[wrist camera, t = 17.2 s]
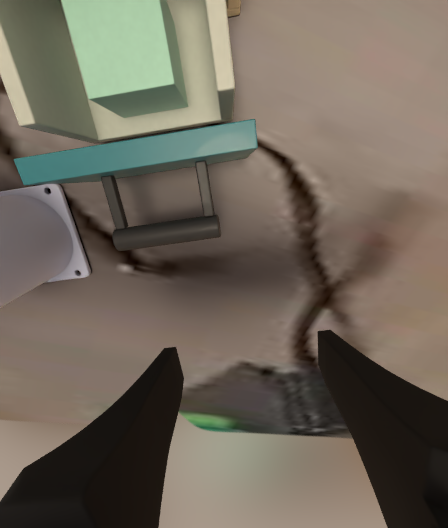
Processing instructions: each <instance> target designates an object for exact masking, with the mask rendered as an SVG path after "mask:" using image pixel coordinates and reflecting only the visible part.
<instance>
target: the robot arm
mask: <svg viewBox="0 0 448 528" xmlns="http://www.w3.org/2000/svg"><path fill="white" fill-rule="evenodd" d="M48 188H49V189H50V190H51V193H49V192H48ZM77 270H79V271H80V272H81V274H79V273H78V272H77ZM90 274H91V269H90V267H89V264H88V261H87V258H86V255H85V252H84V249H83V246H82V244H81V241H80V238H79V235H78V232H77V229H76V226H75V224H74V221H73V218H72V215H71V212H70V209H69V206H68V203H67V201H66V198H65V195H64V192H63V189H62V187H61V186H60V185H59V184H45V185H38V186H32V187H26V188H19V189H13V190H7V191H0V308H2V307H3V306H5V305H7V304H8V303H10V302H12V301H14V300H15V299H17V298H19V297H20V296H22V295H24V294H25V293H27V292H29V291H31V290H32V289H34V288H36V287H37V286H39V285H41V284H42V283H46V282H53V281H61V280H68V279H76V278H84V277H87V276H89V275H90ZM318 365H319V367H320V370H321V373H322V376H323V378H324V381H325V384H326V386H327V388H328V390H329V392H330V394H331V396H332V398H333V400H334V402H335V403H336V405H337V407H338V409H339V411H340V413H341V415H342V417H343V419H344V421H345V423H346V425H347V427H348V429H349V431H350V433H351V435H352V437H353V439H354V442H355V444H356V447H357V449H358V452H359V454H360V456H361V459H362V461H363V464H364V466H365V469H366V471H367V474H368V477H369V479H370V482H371V484H372V487H373V489H374V492H375V495H376V497H377V500H378V503H379V505H380V508H381V511H382V513H383V516H384V519H385V522H386V524H387V527H388V528H448V401H447V400H444V399H442V398H440V397H437V396H435V395H433V394H431V393H429V392H427V391H425V390H423V389H421V388H419V387H417V386H415V385H413V384H411V383H409V382H407V381H405V380H404V379H402V378H400V377H398V376H396V375H395V374H393V373H391V372H389V371H388V370H386V369H384V368H383V367H381V366H380V365H378V364H377V363H375V362H374V361H372V360H371V359H369V358H368V357H366V356H365V355H363V354H362V353H360V352H359V351H358V350H356V349H355V348H353V347H352V346H351V345H349V344H348V343H347V342H345V341H344V340H343V339H342V338H340V337H339V336H338V335H336V334H335V333H334V332H332V331H331V330H325V331H318ZM183 381H184V377H183V373H182V369H181V365H180V361H179V357H178V353H177V349H176V347H171V348H164V349H163V351H162V352H161V353H160V354H159V355H158V356H157V358H156V359H155V360H154V361H153V362H152V364H151V365H150V366H149V367H148V368H147V370H146V371H145V372H144V373H143V374H142V375H141V376H140V378H139V379H138V380H137V381H136V382H135V383H134V384H133V385H132V386H131V387H130V388H129V389H128V390H127V391H126V392H125V394H123V395H122V396H121V397H120V398H119V399H118V400H117V401H116V402H115V403H114V404H113V405H112V406H111V407H110V408H108V409H107V410H106V411H105V412H104V413H103V414H101V415H100V416H99V417H98V418H97V419H95V420H94V421H93V422H92V423H90V424H89V425H88V426H87V427H85V428H84V429H83V430H81V431H80V432H79V433H77V434H76V435H75V436H73V437H72V438H70V439H69V440H67V441H66V442H65V443H63V444H62V445H60V446H59V447H57V448H56V449H54V450H53V451H51V452H49V453H48V454H46V455H45V456H43V457H41V458H40V459H38V460H37V461H35V462H33V463H32V464H30V465H28V466H27V467H25V468H24V469H23V470H22V472H21V473H20V474H19V476H18V477H17V478H16V480H15V481H14V483H13V484H12V486H11V487H10V489H9V490H8V491H7V493H6V494H5V496H4V497H3V498H2V500H1V501H0V528H158V526H159V517H160V509H161V501H162V494H163V486H164V478H165V472H166V466H167V459H168V453H169V448H170V444H171V439H172V436H173V431H174V427H175V423H176V419H177V415H178V411H179V407H180V402H181V398H182V390H183Z"/></svg>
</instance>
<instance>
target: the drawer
mask: <svg viewBox="0 0 448 528" xmlns="http://www.w3.org/2000/svg"><path fill="white" fill-rule="evenodd" d="M166 1H167V4H168V7H169V9H170V12H171V15H172V18H173V21H174V24H175V30H176V36H177V42H178V48H179V54H180V60H181V66H182V72H183V78H184V84H185V90H186V96H187V102H188V107H184V108H179V109H173V110H167V111H161V112H155V113H150V114H144V115H138V116H132V117H127V118H123V117H121V116H119V115H117V114H115V113H113V112H112V111H110V110H108V109H106V108H104V107H102V106H101V105H99V104H97V103H95V102H93V101H91V100H89V98H88V95H87V91H86V88H85V84H84V81H83V77H82V74H81V70H80V66H79V63H78V59H77V56H76V52H75V49H74V45H73V42H72V38H71V34H70V31H69V27H68V24H67V20H66V17H65V13H64V10H63V6H62V2H61V0H0V75H1V78H2V80H3V83H4V86H5V88H6V91H7V94H8V96H9V99H10V102H11V105H12V107H13V110H14V113H15V115H16V118H17V121H18V123H19V125H20V126H22V127H27V128H31V129H35V130H39V131H44V132H48V133H52V134H57V135H61V136H65V137H69V138H74V139H78V140H82V141H87V142H90V143H100V142H106V141H112V140H118V139H124V138H130V137H136V136H142V135H148V134H154V133H160V132H166V131H172V130H178V129H184V128H190V127H196V126H202V125H208V124H214V123H220V122H226V121H232V120H233V108H234V96H235V80H234V71H233V62H232V53H231V44H230V35H229V25H228V16H227V7H226V0H166ZM257 148H258V145H257V134H256V123H255V119H251V120H245V121H239V122H233V123H227V124H221V125H215V126H209V127H203V128H197V129H191V130H185V131H179V132H173V133H167V134H161V135H155V136H149V137H143V138H137V139H131V140H125V141H119V142H113V143H107V144H101V145H95V146H89V147H83V148H77V149H71V150H65V151H59V152H53V153H47V154H41V155H35V156H29V157H23V158H17V159H14V162H15V164H16V167H17V169H18V172H19V174H20V177H21V179H22V182H23V184H24V185H41V184H60V183H78V182H97V181H102V183H103V187H104V190H105V193H106V197H107V200H108V204H109V207H110V210H111V214H112V217H113V221H114V224H115V227H116V229H115V230H114V232H113V242H114V245H115V247H116V249H117V250H119V251H124V250H131V249H139V248H146V247H153V246H160V245H168V244H175V243H182V242H190V241H197V240H204V239H211V238H219V237H221V231H220V223H219V218H218V215H214V208H213V201H212V195H211V189H210V182H209V176H208V169H207V164H212V163H219V162H225V161H231V160H238V159H244V158H247V157H248V156H249V155H250V154H251V153H252V152H254V151H255V150H256V149H257ZM193 166H196V171H197V177H198V183H199V189H200V195H201V201H202V207H203V212H204V216H203V217H196V218H189V219H182V220H175V221H168V222H161V223H155V224H148V225H141V226H134V227H128V223H127V220H126V216H125V212H124V209H123V205H122V202H121V198H120V194H119V191H118V187H117V183H116V180H115V179H117V178H123V177H130V176H136V175H142V174H149V173H155V172H161V171H168V170H174V169H180V168H187V167H193ZM126 227H127V228H126Z"/></svg>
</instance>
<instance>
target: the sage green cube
mask: <svg viewBox="0 0 448 528" xmlns="http://www.w3.org/2000/svg"><path fill="white" fill-rule="evenodd" d="M61 2H62V6H63V10H64V13H65V17H66V20H67V24H68V27H69V31H70V34H71V38H72V42H73V45H74V49H75V52H76V56H77V59H78V63H79V66H80V70H81V74H82V77H83V81H84V84H85V88H86V91H87V95H88V98H89V100H91V101H93V102H95V103H97V104H99V105H101V106H102V107H104V108H106V109H108V110H110V111H112V112H113V113H115V114H117V115H119V116H121V117H123V118H127V117H132V116H138V115H144V114H150V113H155V112H161V111H167V110H173V109H179V108H184V107H188V102H187V96H186V90H185V84H184V78H183V72H182V66H181V60H180V54H179V48H178V42H177V36H176V30H175V24H174V21H173V18H172V15H171V12H170V9H169V7H168V4H167V1H166V0H61Z"/></svg>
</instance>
